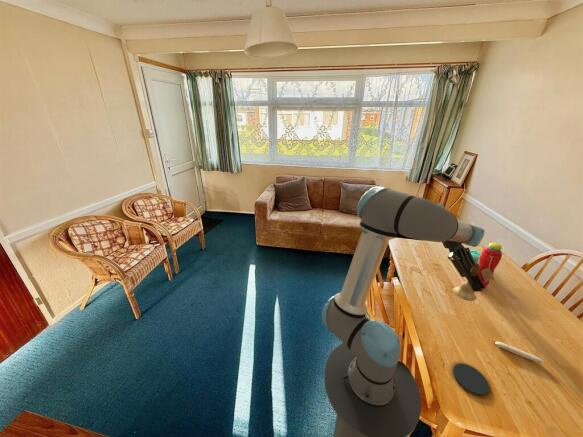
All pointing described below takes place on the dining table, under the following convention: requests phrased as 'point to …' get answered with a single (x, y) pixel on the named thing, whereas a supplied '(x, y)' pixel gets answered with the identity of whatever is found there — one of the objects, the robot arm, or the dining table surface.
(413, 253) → the dining table surface
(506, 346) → the pen
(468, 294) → the hand bell
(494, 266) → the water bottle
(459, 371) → the corner coaster
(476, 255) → the decorative dice
